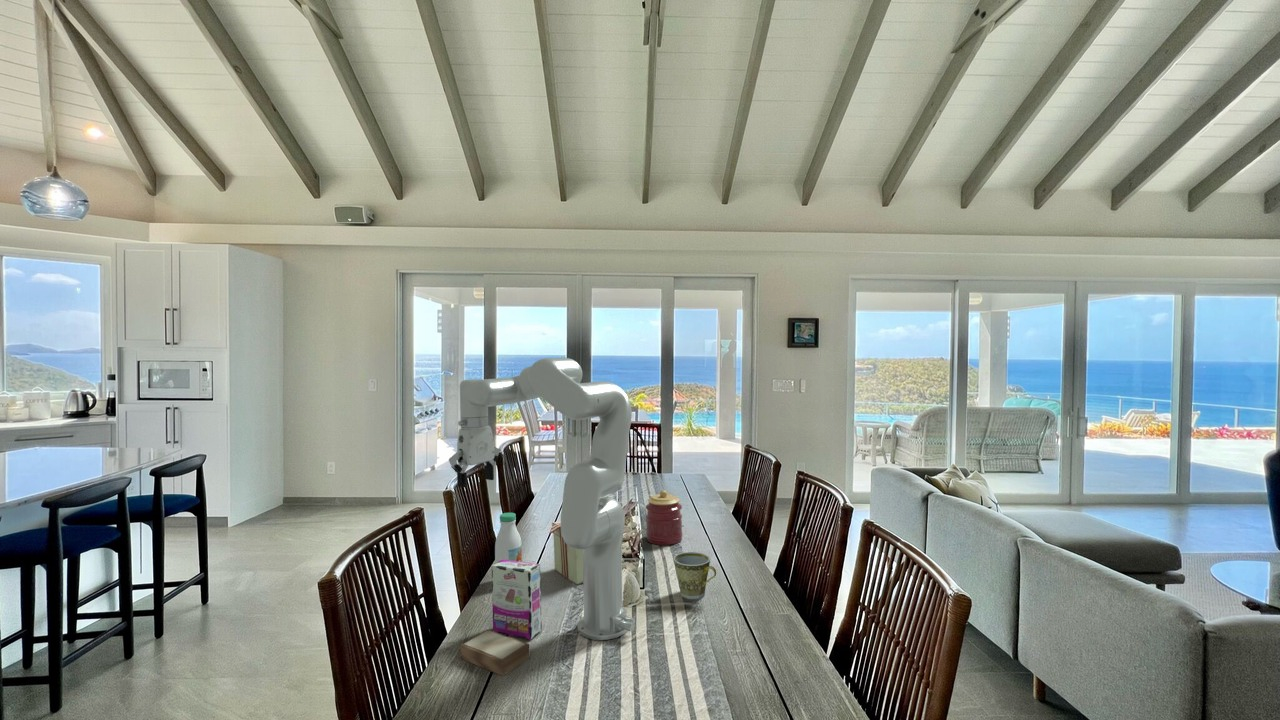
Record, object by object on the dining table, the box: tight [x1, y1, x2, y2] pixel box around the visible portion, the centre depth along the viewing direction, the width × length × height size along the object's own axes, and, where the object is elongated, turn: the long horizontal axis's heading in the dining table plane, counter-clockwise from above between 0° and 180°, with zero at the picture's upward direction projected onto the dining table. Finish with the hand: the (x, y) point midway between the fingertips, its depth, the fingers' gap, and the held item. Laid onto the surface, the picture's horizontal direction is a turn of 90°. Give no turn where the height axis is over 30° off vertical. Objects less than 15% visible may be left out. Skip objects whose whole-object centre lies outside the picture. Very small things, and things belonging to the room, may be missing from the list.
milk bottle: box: [494, 512, 523, 564], centre depth 163 cm, size 8×8×20 cm
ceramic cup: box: [673, 551, 717, 600], centre depth 151 cm, size 13×10×10 cm
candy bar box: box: [491, 559, 543, 640], centre depth 133 cm, size 11×5×16 cm, turn 68°
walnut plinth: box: [459, 628, 530, 677], centre depth 122 cm, size 13×8×3 cm, turn 58°
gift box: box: [549, 520, 584, 585], centre depth 168 cm, size 17×18×17 cm
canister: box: [645, 489, 683, 546], centre depth 197 cm, size 13×13×18 cm
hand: (476, 483), depth 157 cm, fingers open, 9 cm apart
